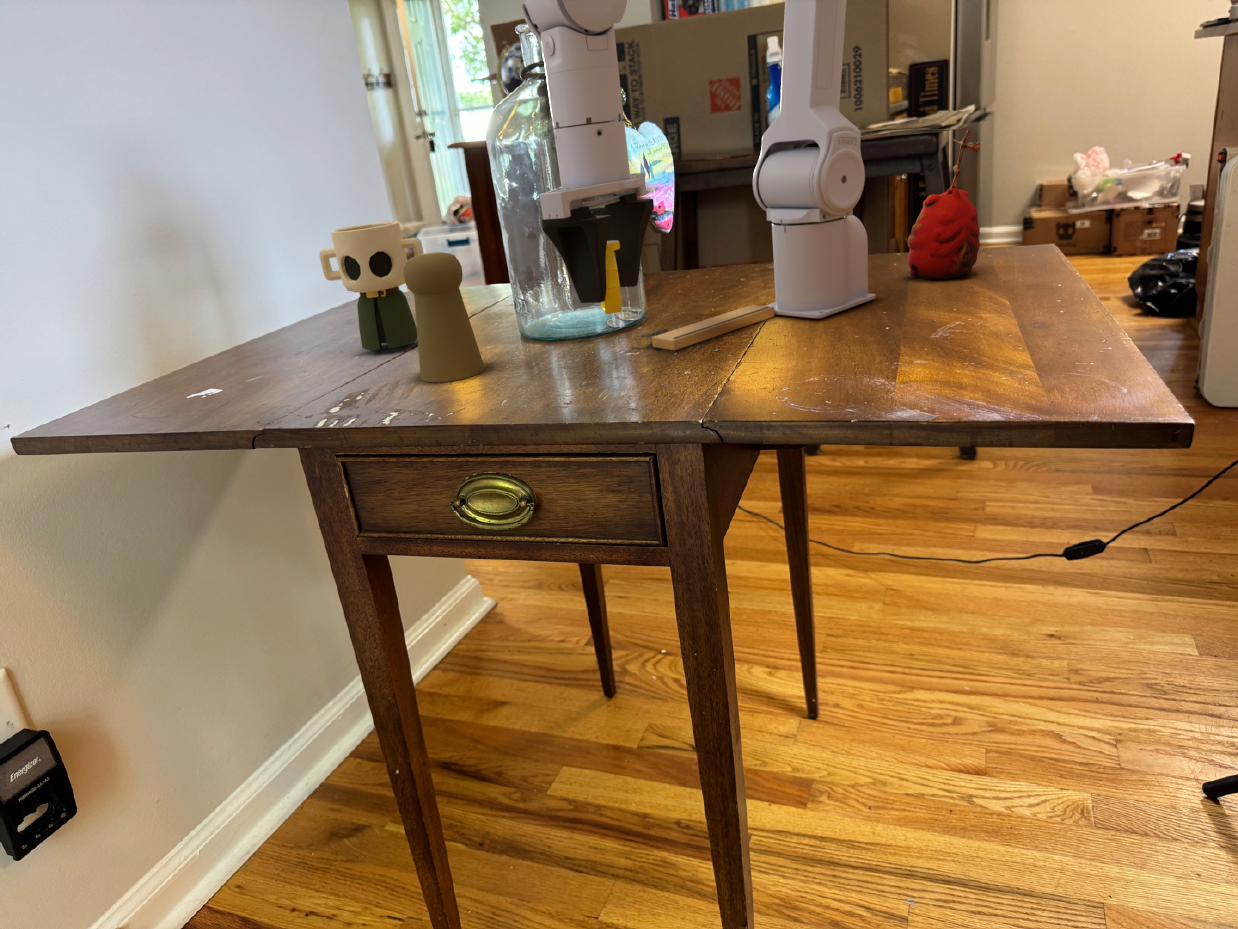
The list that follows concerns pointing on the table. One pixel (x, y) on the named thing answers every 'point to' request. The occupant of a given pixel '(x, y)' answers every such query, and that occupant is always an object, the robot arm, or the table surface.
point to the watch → (612, 280)
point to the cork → (442, 319)
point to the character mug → (375, 280)
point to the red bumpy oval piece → (945, 231)
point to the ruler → (712, 327)
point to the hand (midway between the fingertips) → (609, 293)
